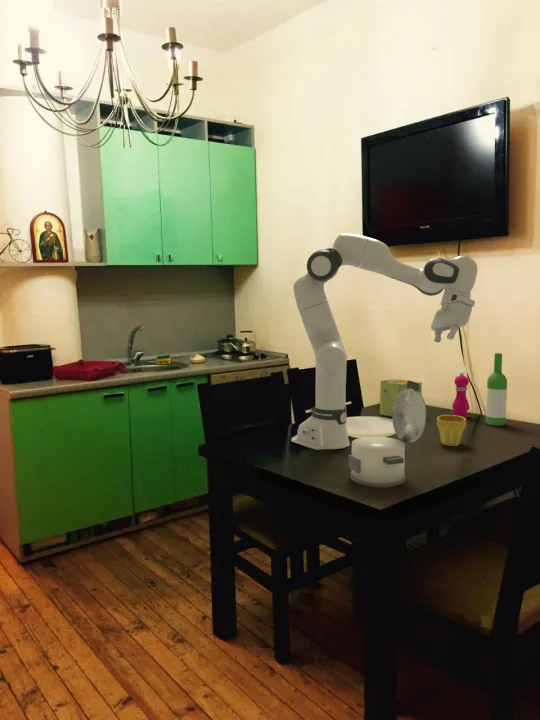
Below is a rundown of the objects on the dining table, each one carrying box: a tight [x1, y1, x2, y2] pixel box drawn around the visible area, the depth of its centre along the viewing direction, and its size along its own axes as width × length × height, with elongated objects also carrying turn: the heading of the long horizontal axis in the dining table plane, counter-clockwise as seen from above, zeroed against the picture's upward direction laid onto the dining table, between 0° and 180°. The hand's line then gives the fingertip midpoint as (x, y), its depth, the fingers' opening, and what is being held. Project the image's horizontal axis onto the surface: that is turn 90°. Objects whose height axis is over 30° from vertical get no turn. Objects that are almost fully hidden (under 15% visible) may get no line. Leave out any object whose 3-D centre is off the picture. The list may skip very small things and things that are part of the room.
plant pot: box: [436, 414, 467, 447], centre depth 214 cm, size 10×10×10 cm
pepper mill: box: [451, 371, 470, 419], centre depth 255 cm, size 7×7×20 cm
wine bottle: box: [485, 352, 508, 427], centre depth 240 cm, size 8×8×30 cm
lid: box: [391, 379, 427, 443], centre depth 179 cm, size 19×17×2 cm
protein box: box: [379, 378, 423, 417], centre depth 260 cm, size 10×15×16 cm
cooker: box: [348, 436, 412, 489], centre depth 178 cm, size 18×21×11 cm
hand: (443, 340), depth 196 cm, fingers open, 8 cm apart
